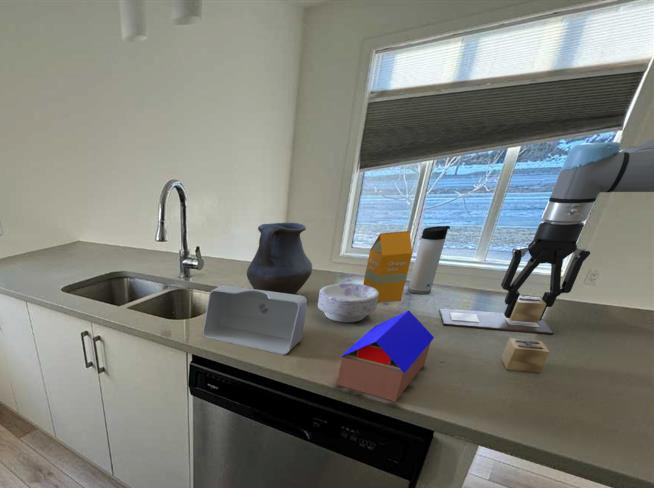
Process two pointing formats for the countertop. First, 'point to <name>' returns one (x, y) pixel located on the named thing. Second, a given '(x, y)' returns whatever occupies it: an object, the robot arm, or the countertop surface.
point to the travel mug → (427, 259)
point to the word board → (490, 321)
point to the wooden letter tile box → (528, 309)
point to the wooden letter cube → (524, 355)
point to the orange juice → (389, 265)
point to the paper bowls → (347, 301)
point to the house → (386, 357)
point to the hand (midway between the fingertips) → (522, 317)
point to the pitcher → (280, 259)
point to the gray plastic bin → (255, 318)
